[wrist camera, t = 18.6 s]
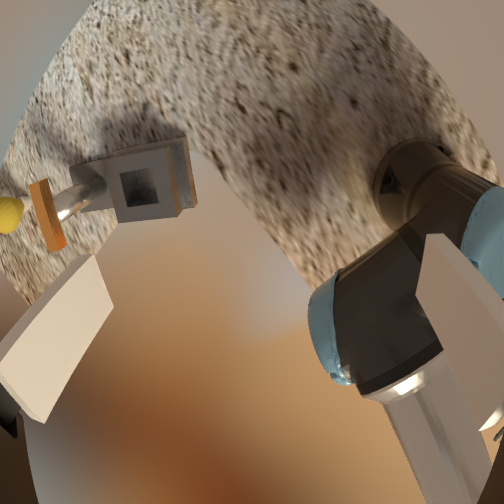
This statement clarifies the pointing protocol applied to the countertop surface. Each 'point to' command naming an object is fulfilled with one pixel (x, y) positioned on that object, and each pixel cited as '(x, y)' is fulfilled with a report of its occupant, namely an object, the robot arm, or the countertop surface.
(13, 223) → the light bulb
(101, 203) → the mat
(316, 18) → the countertop surface
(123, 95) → the countertop surface
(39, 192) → the key
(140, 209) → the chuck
